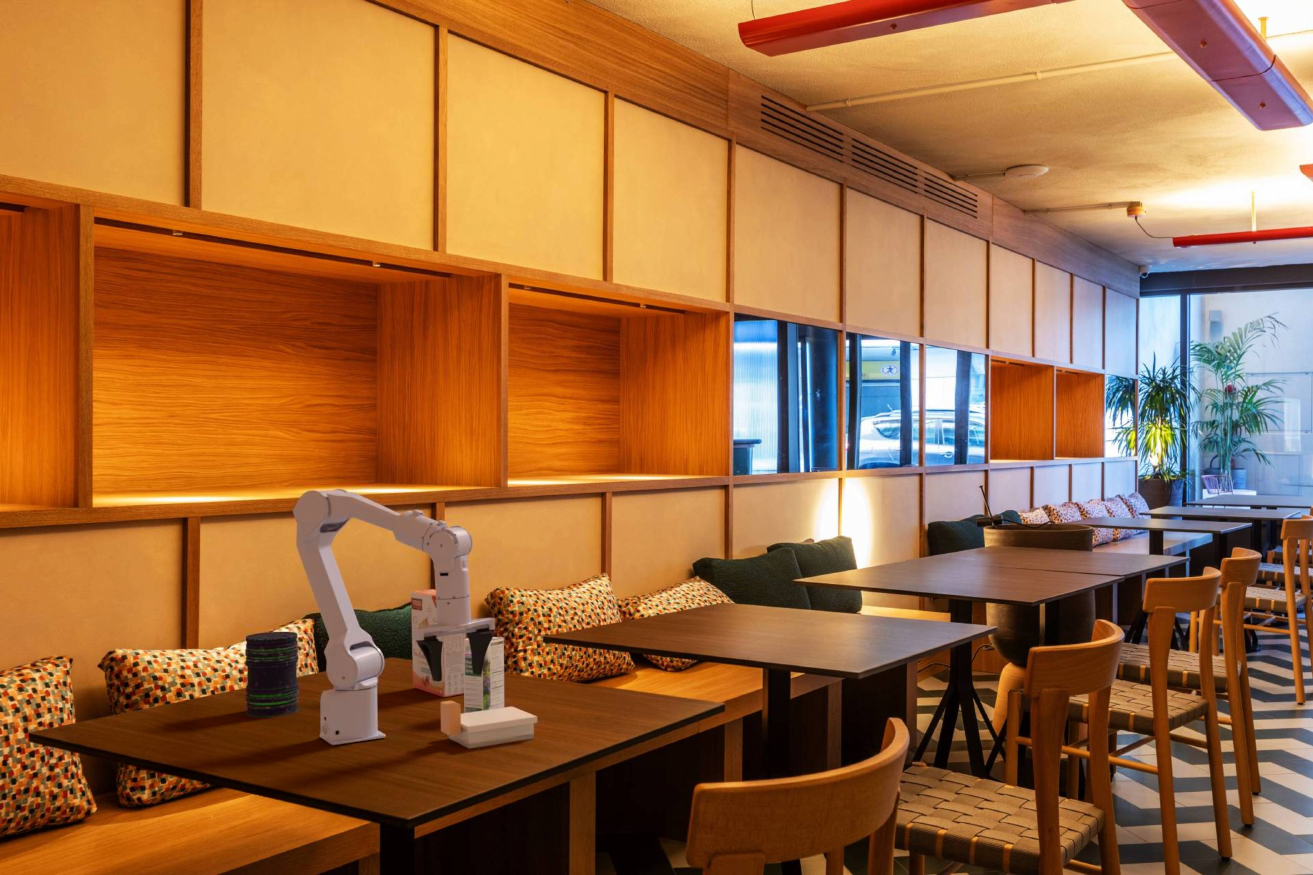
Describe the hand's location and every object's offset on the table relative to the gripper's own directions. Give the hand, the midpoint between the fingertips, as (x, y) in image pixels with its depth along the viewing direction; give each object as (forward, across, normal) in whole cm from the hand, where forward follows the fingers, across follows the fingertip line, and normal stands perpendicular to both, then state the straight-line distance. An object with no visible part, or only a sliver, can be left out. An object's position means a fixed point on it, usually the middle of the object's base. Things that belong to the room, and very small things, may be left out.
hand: (457, 677), depth 195 cm
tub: (+11, +6, 0) cm, 13 cm away
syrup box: (+11, +14, +18) cm, 26 cm away
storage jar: (+9, -16, +48) cm, 51 cm away
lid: (+9, +5, 0) cm, 11 cm away
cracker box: (+10, +18, +44) cm, 49 cm away
